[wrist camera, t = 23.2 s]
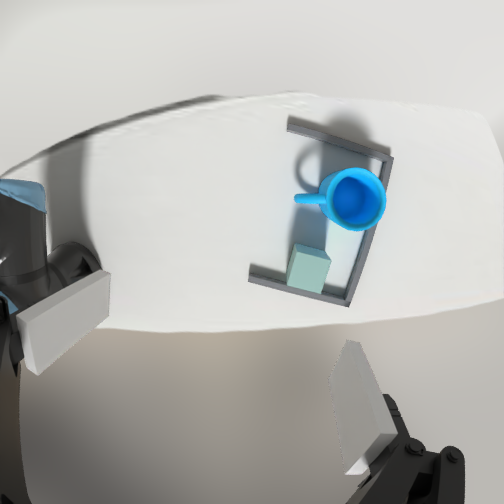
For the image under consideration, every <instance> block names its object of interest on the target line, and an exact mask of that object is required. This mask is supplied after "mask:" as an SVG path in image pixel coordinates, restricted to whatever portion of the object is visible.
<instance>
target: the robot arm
mask: <svg viewBox="0 0 504 504" xmlns="http://www.w3.org/2000/svg"><path fill="white" fill-rule="evenodd" d="M46 214H47V211H46V208H45V190H44V187H43V186H42V185H41V184H40V183H37V182H32V181H24V180H14V179H0V504H32V503H31V501H30V499H29V497H28V493H27V488H26V483H25V477H24V470H23V463H22V454H21V444H20V424H19V393H20V374H21V364H20V361H21V360H22V359H23V358H25V362H26V366H27V368H28V369H29V370H31V371H32V372H33V373H35V374H36V375H39V374H40V373H42V372H43V371H44V370H45V369H46V368H47V367H49V365H51V364H52V363H53V362H54V361H55V360H57V359H58V358H59V357H60V356H61V355H62V354H64V353H65V352H66V351H67V350H68V349H70V348H71V347H72V346H73V345H74V344H75V343H77V342H78V341H79V340H80V339H81V338H83V337H84V336H85V335H86V334H88V333H89V332H90V331H91V330H92V329H94V328H95V327H96V326H97V325H99V324H100V323H101V322H102V321H103V320H105V319H106V318H107V317H108V316H109V298H110V279H111V273H109V272H106V271H103V270H101V268H100V266H99V264H98V262H97V260H96V259H95V257H94V256H93V255H92V253H91V252H90V251H89V250H88V249H87V248H85V247H84V246H82V245H80V244H78V243H74V242H69V243H65V244H62V245H60V246H58V247H56V248H55V249H54V250H53V251H52V252H51V253H50V254H49V255H48V256H47V246H46ZM328 382H329V387H330V392H331V397H332V403H333V408H334V413H335V418H336V424H337V429H338V435H339V441H340V447H341V453H342V459H343V465H344V472H345V474H362V473H363V472H364V471H365V470H366V469H367V468H368V467H369V468H370V472H371V474H370V475H369V476H368V477H367V478H366V479H365V480H364V481H362V482H361V484H359V485H358V487H359V488H358V489H357V491H356V492H355V493H354V494H353V495H352V497H351V498H350V499H349V500H348V502H347V503H346V504H464V498H465V460H464V455H463V454H462V452H461V451H460V450H459V449H457V448H456V447H453V446H447V447H445V448H444V449H443V450H442V451H441V452H440V453H434V452H429V451H426V448H425V446H424V445H423V444H422V443H421V442H420V441H419V440H417V439H414V438H410V435H409V433H408V431H407V428H406V426H405V423H404V421H403V419H402V417H401V414H400V412H399V411H398V407H397V405H396V403H395V401H394V400H393V399H392V398H391V397H390V396H389V395H388V394H382V392H381V390H380V388H379V385H378V383H377V381H376V379H375V376H374V374H373V371H372V369H371V367H370V365H369V362H368V360H367V358H366V355H365V353H364V351H363V349H362V347H361V344H360V343H359V342H355V341H349V340H347V341H346V343H345V345H344V347H343V349H342V352H341V354H340V356H339V358H338V360H337V362H336V364H335V366H334V368H333V370H332V372H331V374H330V377H329V379H328Z"/></svg>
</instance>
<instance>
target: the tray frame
mask: <svg viewBox="0 0 504 504" xmlns="http://www.w3.org/2000/svg"><path fill="white" fill-rule="evenodd" d="M287 132H291V133H295V134H299V135H302V136H306V137H310V138H313V139H317V140H320V141H323V142H327V143H330V144H333V145H336V146H339V147H343V148H346V149H349V150H352V151H355V152H357V153H360V154H363V155H366V156H369V157H371V158H374V159H377V160H380V161H382V162H384V163H383V168H382V172H381V176H380V181H381V183H382V185H383V187H384V189H385V194H386V190H387V186H388V182H389V177H390V173H391V169H392V164H393V160H394V157H391V156H389V155H386V154H384V153H381V152H378V151H376V150H373V149H370V148H368V147H365V146H362V145H359V144H356V143H353V142H350V141H347V140H344V139H341V138H338V137H335V136H332V135H329V134H325V133H322V132H319V131H315V130H312V129H308V128H305V127H301V126H297V125H293V124H288V128H287ZM377 223H378V222H377ZM377 223H376V224H375V225H374V226H372V227H371V228H369V229H367V230H366V232H365V235H364V239H363V242H362V245H361V248H360V251H359V254H358V257H357V260H356V263H355V266H354V269H353V272H352V275H351V278H350V281H349V284H348V287H347V289H346V292H345V295H344V297H341V296H337V295H333V294H329V293H325V292H321V294H319V293H315V292H311V291H307V290H303V289H299V288H295V287H291V286H287V283H286V282H282V281H279V280H275V279H271V278H267V277H264V276H260V275H256V274H252V273H250V275H249V279H248V282H251V283H255V284H258V285H262V286H266V287H270V288H273V289H277V290H281V291H285V292H289V293H293V294H297V295H301V296H305V297H308V298H312V299H316V300H321V301H325V302H329V303H333V304H337V305H341V306H345V307H349V306H350V303H351V301H352V298H353V295H354V293H355V290H356V287H357V284H358V282H359V279H360V276H361V273H362V270H363V267H364V264H365V261H366V258H367V255H368V252H369V249H370V246H371V243H372V240H373V236H374V233H375V230H376V226H377Z"/></svg>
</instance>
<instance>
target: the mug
mask: <svg viewBox="0 0 504 504" xmlns="http://www.w3.org/2000/svg"><path fill="white" fill-rule="evenodd" d="M294 200H295V202H296V203H307V204H319V206H320V208H321V210H322V212H323V213H324V214H325V215H326V216H327V217H328V218H329V219H330V220H332V221H333V222H335V223H336V224H338V225H340V226H341V227H343V228H345V229H347V230H352V231H362V230H367V229H369V228H371V227H372V226H374V225H375V224H376V223H377V222H378V221H379V220H380V219H381V217H382V215H383V213H384V211H385V207H386V194H385V189H384V187H383V185H382V183H381V181H380V180H379V179H378V178H377V177H376V175H375V174H373V173H372V172H370V171H368V170H366V169H362V168H357V167H355V168H348V169H344V170H340V171H337V172H334V173H332V174H330V175H328V176H327V177H326V178H325V179H324V180H323V181H322V183H321V185H320V187H319V191H318V193H306V194H296V195H295V196H294Z"/></svg>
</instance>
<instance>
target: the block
mask: <svg viewBox="0 0 504 504" xmlns="http://www.w3.org/2000/svg"><path fill="white" fill-rule="evenodd" d="M330 264H331V259H330V258H329V256H328V255H327V253H326V252H325V251H322V250H319V249H315V248H311V247H308V246H304V245H300V244H297V243H295V244H294V247H293V251H292V254H291V258H290V261H289V265H288V268H287V272H286V279H287V286H291V287H295V288H299V289H303V290H307V291H311V292H315V293H319V294H321V291H322V288H323V285H324V282H325V279H326V276H327V273H328V270H329V267H330Z"/></svg>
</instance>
